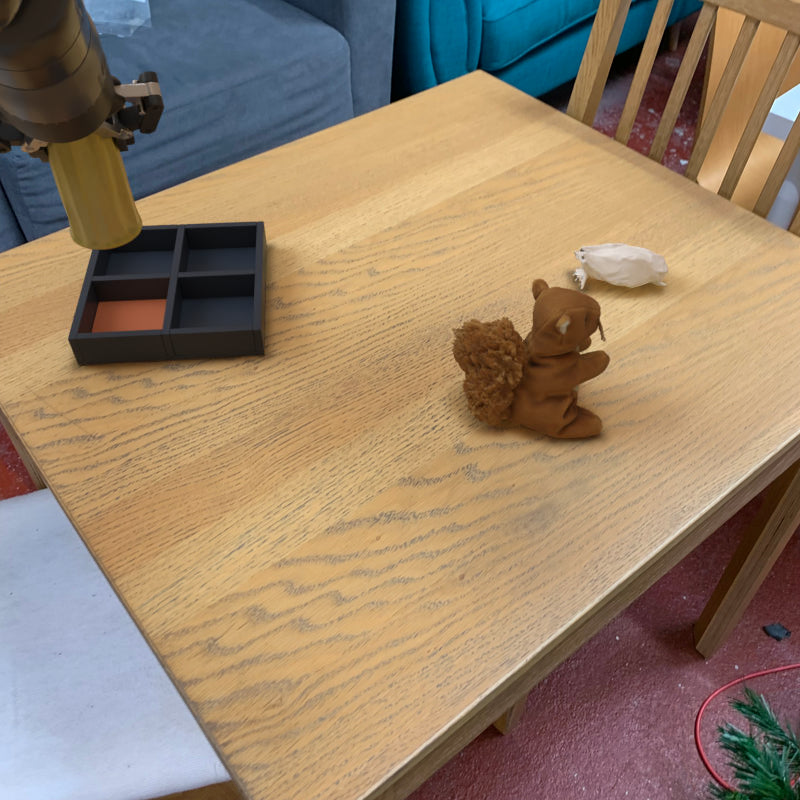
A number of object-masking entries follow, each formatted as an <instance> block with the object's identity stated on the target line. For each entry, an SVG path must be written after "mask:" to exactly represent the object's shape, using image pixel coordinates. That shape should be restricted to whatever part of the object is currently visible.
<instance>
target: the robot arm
mask: <svg viewBox="0 0 800 800" xmlns="http://www.w3.org/2000/svg"><path fill="white" fill-rule="evenodd" d="M159 82H160V81H159V78H158V73H157V72H155V71H151V70H147V71H144V72H141V73H140V74H139V76H138V79H134V80H132V81H131V83H122V82H121V81H120V79H119V78H118V77H116V76H115V75H112V74H111V71H110V67H109V65H108V61H107V57H106V53H105V51H104V47H103V45H102V42H101V38H100V35H99V32H98V29H97V27H96V25H95V22H94V20H93V19H92V17H91V15H90V13H89V12H88V9H86V5H85V2H84V0H0V154H2V155H3V154H7V153H10V152H12V150H13V149H12V147H20V149H21V151H22V152H24V153H27V154H28V155H29V157H30V158H33V159H39V160H40V161H41V163H42V164H45V163H49V160H48V155H47V152H46V149H45V147H46V146H47V145H48V143H69V142H74V141H77V140H80V139H83V138H85V137H87V136H89V135H90V134H92V133H94V134H96V135H98V136H100V137H103V138H105V139H106V138H109V137H115V140H116V143H117V145H118V148H119V150H120V153H125V152H129V147H128V146H133V145H135V144H136V140H135V136H134V132H135V131H138V130H139V133H140V134H145V135H150V134H152V133H155V132H156V131H157V128H158V126H159V123H160V121H161V117H162V115H163V112H164V110H165V105H164V100H163V95H162V91H161V87H160V83H159ZM126 103H129V104H131V106H127V105H126Z"/></svg>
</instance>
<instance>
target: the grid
mask: <svg viewBox="0 0 800 800" xmlns="http://www.w3.org/2000/svg"><path fill="white" fill-rule="evenodd" d="M267 243H268V242H267V237H266V228H265V221H264V220H259V221H256V220H255V221H254V220H253V221H235V222H234V221H232V222H231V221H229V222H227V221H226V222H205V223H202V222H201V223H186V224H185V223H181V224H177V223H176V224H154V225H152V224H151V225H142V229H141V232H140V233H139V235H138V236H137V237H136V238H135V239H133V240H132V241H130V242H129V243H127V244H125V245H122V246H120V247H116V248H112V249H105V250H94V249H91V253H90V257H89V260H88V264H87V267H86V271H85V275H84V278H83V282H82V286H81V290H80V293H79V297H78V301H77V303H76V308H75V311H74V315H73V319H72V322H71V326H70V330H69V333H68V335H67V342H68V343H69V346H70V349H71V351H72V353H73V355H74V358H75V361H76V363H77V366H89V365H90V366H91V365H111V364H129V363H147V362H148V363H149V362H166V361H168V362H169V361H184V360H185V361H186V360H187V361H188V360H202V359H203V360H206V359H223V358H243V357H260V356H261V357H262V356H265V354H266V317H267V315H266V312H267V311H266V309H267V271H268V270H267V268H268V267H267V266H268V265H267V264H268V244H267Z"/></svg>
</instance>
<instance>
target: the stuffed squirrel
mask: <svg viewBox="0 0 800 800" xmlns="http://www.w3.org/2000/svg"><path fill="white" fill-rule="evenodd" d="M531 284H532V286H531V294H532V296H533V299H534V305H533V309H532V326H531V330H530V331H529V332H528V333H527V335H526V336H525V338H524V339H523V337H522V336H521V334H520V333H519V331H517V330H515V325H514V323H513V321H512V320H510V319H509V317H508V316H507V317H505V316H502V317H501V320H500V319H499V318H497V319H496V320H493V321H485V322H481V321H480V320H478V319H477V318H471V319H470V320H469V321H467V322H466V321H464V322H462V324H463V325H461V327H457V328H455V327H453V328H451V331H452V333H453V335H454V338H455V339H453V341H454V342H451V344H452V345H453V347H452V349H451V352H452V355H453V358H454V361H455V362H456V363H457V365H458V367H459V368H460V369H461V371H462V372H464V379H463V380H462V382H463V385H461V387H462V392H464V394H465V398H466V399H467V404H466V407H467V409H468V410H469V413H470V414H471V416H472V417H474V418H475V419H476V420H478V422H480V423H484V424H486V426H489V427H494V426H497V425H499V424H501V423H503V422H504V420H509V421H510V422H513V423H515V424H516V423H517V424H519V425H521V426H524V427H527V428H529V429H531V430H534V431H536V432H538V433H541V434H544V435H546V436H549V437H551V438H553V439H554V438H555V439H572V438H573V439H576V438H586V437H590V436H596V435H599V434H600V432H602V430H603V427H604V425H603V421H602V419H601V418H600V416H598V415H597V414H595V413H594V412H593V411H591V410H588V409H586V408H585V407H582V406H579V405H578V400H579V399H578V398H579V388H580V387H579V386H580V385H582V384H584V383H586V382H588V381H591V380H593V379H595V378H597V377H598V376H600V375H602V374H603V373H604V372H605V371H606V370H607V368H608V367H609V366H610V365H609V364H610V362H611V357H610V355H609V354H607V352H606V351H605V350H602V349H601V350H598V349H597V350H594V351H593V350H592V351H589V352H585V353H583V352H584V351H586V350H588V349H589V348H590V347H591V345H592V342H593V340H592V338H591V336H593V335H594V334H595V333H596V332H597V330H598V332H599V335H600V340H601V341H602V342H603V343H605V342H606V341H607V338H606V337H605V332H604V327H603V324H602V322H601V315H602V311H601V308H602V307H601V305H600V304H599V301H598V300H596V299H595V298H594V297H592V296H590V295H588V294H586V293H583V292H581V291H578V290H575V289H571V288H566V287H562V286H552V287H549V284H548V283H547V281H546V280H544V279H543V278H536V279H534V280H533V281H532V282H531Z"/></svg>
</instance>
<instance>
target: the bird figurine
mask: <svg viewBox="0 0 800 800" xmlns="http://www.w3.org/2000/svg"><path fill="white" fill-rule="evenodd" d="M573 254H574V259H576V260H577V261H579V263H580V264H581V265H580V267H577V268H575V272H574V273H572V277H574V276H576V279H574V280H575V282H576V281H577V280H578V281H579V282H580V283H578V285H580V290H582V289H583V288H584V287H585V285H586V283H587V280H588V276H589V277H591V278H593V279H595V280H598V281H603V282H606V283H609V284H610V285H613V286H620V287H626V288H629V289H634V288H637V287H641V286H644V285H648V284H652V285H655V286H658V287H667V284H666V283H665V282H663V280H664V279H665V277H666V275H667V274H668V273H669V266H668V264H667V262H666V259H665V257H664V256H663V255H661V254H659V253H656V252H654V251H652V250H651V249H648V248H645V247H641V246H634V245H629V244H627V243H625V242H624V243H623V242H607V243H602V244H594V245H593V244H592V245H582V246H581V247H579V250H578V251H577V250H574V251H573Z"/></svg>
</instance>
